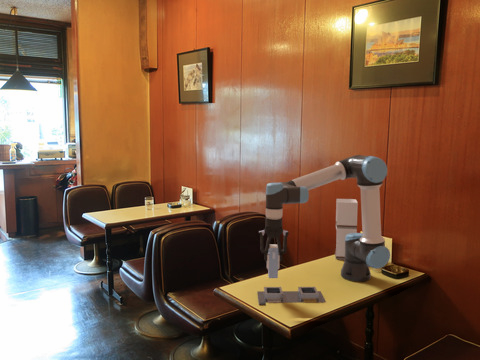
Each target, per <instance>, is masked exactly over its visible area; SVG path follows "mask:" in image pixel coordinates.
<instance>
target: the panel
mask: <svg viewBox="0 0 480 360" xmlns="http://www.w3.org/2000/svg"><path fill="white" fill-rule="evenodd" d="M257 301H258V302H257V303H258V305H260V306H263V305H264V306H265V305H267V303H268V304H271V303H272V304H275V303H277V304H278V303H283V304H284V303H286V304H288V303H292V304H293V303H303V304H304V303H327V301H326V299H325V297H324V295H323V293H322V290H321V291H320V290H318V289H317V287H316V286H297V290H290V291H287V290H283V289H282V286H264V287H263V290H262V291H260V290H259V291H257Z"/></svg>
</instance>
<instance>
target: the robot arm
mask: <svg viewBox="0 0 480 360" xmlns="http://www.w3.org/2000/svg"><path fill="white" fill-rule="evenodd" d="M387 166H388V165H387V164H386V162H385V161H384V160H383V159H382V158H380V157H377V156H373V155H362V154H356V155H352V156H349V157H346V158H343V159H341V160H338V161H336V162H335V164H332V165H329V166H328V167H325V168H321V169H318V170H316V171H313V172H311V173H308V174H305V175H302V176H298V177H296V178H293V179H291V180H287V181H285V182H284V181H279V182H269V183H267V184H266V186H265V221H264V223H265V227H264V229H263V230H258V234H259V237H260V238H259V239H260V240H259V241H260V242H259V243H260V254H264V261H265V262H266V269H267V270H268V269H269V245H270V244H271V240H272V239H276V243H277V246H278V270H279V269H280V262H282V261H283V255H284V254H287V247H288V246H287V245H288V244H287V243H288V236H289V233H290V232H289V231H288V230H285V229H284V228H283V218H282V217H283V214H284V213H283V212H284V211H283V208H284V205H287V204H288V205H289V204H291V205H292V204H295V205H296V204H305V203H307V202H308V201H309V198H310V193H309V191H310V190H311V191H312V190H313V189H316V188H318V187H321V186H325V185H327V184H329V183H332V182H335V181H338V180H342V181H345V180H347V179H356V186H358V188H360V205H361V206H360V209H361V210H360V211H361V226H362V227H361V229H362V230H361V231H362V232H357V233H350V234H347V235H346V238H345V260H343V264H342V267H341V268H340V269H341V270H340V276H341V277H342V278H343V279H344V280H347V281H352V282H366V281H370V280H371V278H372V277H371V276H372V274H371V270H370V267H371V268H372V269H381V268H384V267H385V266H386V264H388V263H389V262H390V259H391V252H390V249H388V247H387V246H386V241H385V238H384V237H383V236H382V224H381V196H380V189H381V186H382V185H383V184H384V180H385V178H386V177H387V175H388V167H387ZM265 234H266V235H267V239H266V243H265V248H264V235H265ZM281 235H283V244H282V245H281V241H280V236H281Z"/></svg>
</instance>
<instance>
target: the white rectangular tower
mask: <svg viewBox="0 0 480 360" xmlns="http://www.w3.org/2000/svg"><path fill="white" fill-rule="evenodd" d="M335 203H336V204H335V205H336V206H335V207H336V209H335V230H336V239H335V241H336V244H335V245H336V246H335V247H336V248H335V251H334V257H335V260H336V259H339V261H345V238H346V235H347V234H350V233H358V208H359V207H358V204H359V202H358V201H357V199H356V198H355V199H353V198H336V201H335Z"/></svg>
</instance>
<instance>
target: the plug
mask: <svg viewBox="0 0 480 360" xmlns="http://www.w3.org/2000/svg"><path fill="white" fill-rule="evenodd" d="M268 253H269V269H267V271H268V272H267V273H268V274H267V276H268V279H279V277H278V275H279V269H278V253H279V249H278V244H274V243H273V244H271V243H270V245H269V250H268Z"/></svg>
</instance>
